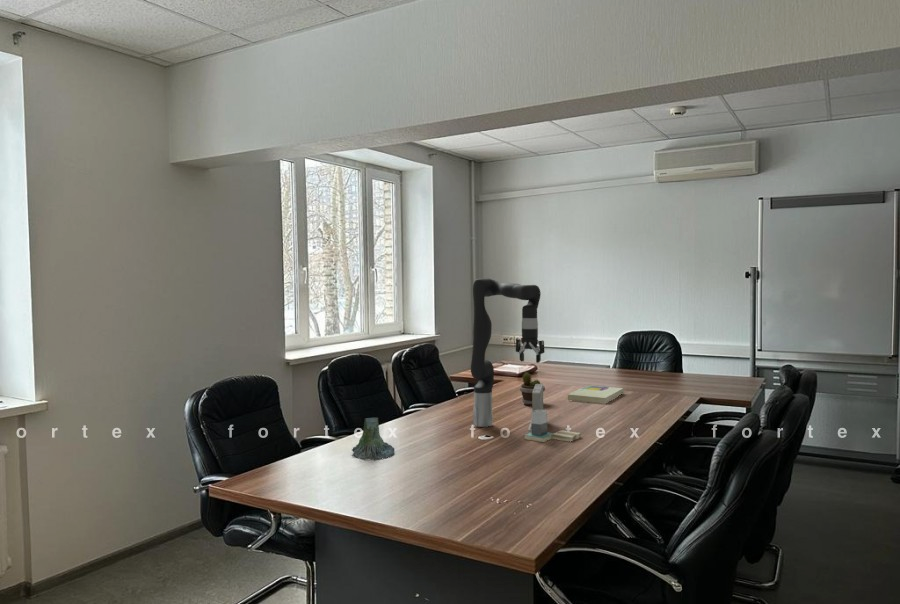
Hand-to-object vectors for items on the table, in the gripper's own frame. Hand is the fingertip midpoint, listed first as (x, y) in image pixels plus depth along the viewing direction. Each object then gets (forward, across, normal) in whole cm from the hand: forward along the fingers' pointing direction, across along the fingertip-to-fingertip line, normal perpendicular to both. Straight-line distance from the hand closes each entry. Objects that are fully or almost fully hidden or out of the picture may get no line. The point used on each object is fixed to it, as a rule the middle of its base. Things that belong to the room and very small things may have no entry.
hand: (530, 361), depth 299 cm
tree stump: (+36, +43, +62) cm, 83 cm away
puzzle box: (+37, +16, -107) cm, 114 cm away
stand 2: (+36, -14, -8) cm, 39 cm away
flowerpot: (+36, +38, -67) cm, 85 cm away
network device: (+36, +7, -19) cm, 42 cm away
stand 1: (+36, -4, -1) cm, 36 cm away
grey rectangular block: (+34, -4, 0) cm, 34 cm away
